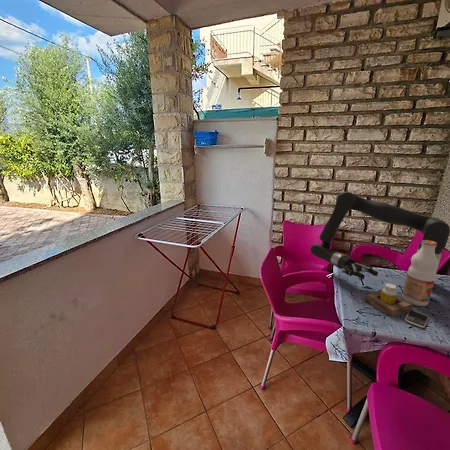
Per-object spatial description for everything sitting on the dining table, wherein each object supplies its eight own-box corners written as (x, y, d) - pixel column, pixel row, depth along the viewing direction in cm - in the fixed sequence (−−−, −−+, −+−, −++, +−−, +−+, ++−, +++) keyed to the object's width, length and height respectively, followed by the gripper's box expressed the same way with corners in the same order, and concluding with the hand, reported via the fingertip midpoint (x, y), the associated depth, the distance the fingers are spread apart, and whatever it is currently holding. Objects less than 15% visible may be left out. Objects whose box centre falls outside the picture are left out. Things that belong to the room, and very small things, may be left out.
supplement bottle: (382, 300, 108) (386, 281, 106) (396, 306, 104) (400, 286, 101) (376, 304, 105) (380, 284, 103) (390, 310, 101) (394, 290, 99)
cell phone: (403, 322, 95) (404, 319, 94) (410, 311, 102) (410, 308, 101) (423, 330, 90) (424, 327, 90) (428, 318, 97) (429, 315, 97)
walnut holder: (383, 295, 112) (384, 289, 111) (410, 310, 101) (412, 304, 101) (364, 300, 108) (366, 294, 107) (391, 316, 97) (392, 310, 96)
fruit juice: (399, 293, 114) (412, 236, 107) (424, 298, 110) (439, 240, 103) (404, 303, 106) (419, 243, 99) (431, 309, 102) (448, 247, 95)
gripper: (332, 256, 122) (360, 270, 107) (353, 253, 127) (383, 265, 112) (330, 270, 124) (358, 285, 109) (351, 266, 129) (380, 280, 114)
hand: (370, 275), depth 111 cm, fingers open, 8 cm apart
